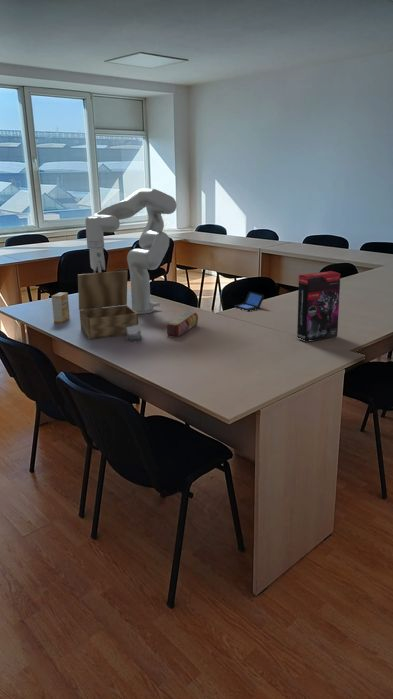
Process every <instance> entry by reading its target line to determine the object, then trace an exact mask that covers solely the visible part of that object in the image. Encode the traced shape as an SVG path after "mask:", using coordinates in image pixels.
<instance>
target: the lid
mask: <svg viewBox="0 0 393 699" xmlns="http://www.w3.org/2000/svg"><path fill="white" fill-rule="evenodd" d="M128 274H129V272H128V270H127V269H126V270H117V271H116V270H115V271H105V272H103V271H101V273H94V272H91V273H89V272H88V273H81V274H79V273H78V274H77V288H78V289H77V292H78V310H79V311H80V310H89V309H94V308H107V307H116V306H125V305H127V306H128Z"/></svg>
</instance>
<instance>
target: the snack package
mask: <svg viewBox="0 0 393 699" xmlns="http://www.w3.org/2000/svg"><path fill="white" fill-rule="evenodd" d="M198 321H199V315H198V313H197V312H195V311H191V310H189V311H186V312H184V313H183V314H181V315H180V316H179V317H177V318H176V319H174V320H172V321H171V322H170V323H168V324H167V325H166V335H167V336H168V337H169V336H171V337H170V338H178V337H180V336H181V335H183V334H184V333H186V332H188V331H189V330H190V329H191V328H193V327H195V326H196V325H197V324H198Z"/></svg>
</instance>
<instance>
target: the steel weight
mask: <svg viewBox="0 0 393 699" xmlns="http://www.w3.org/2000/svg"><path fill="white" fill-rule="evenodd" d="M138 324H139V323H138ZM138 324H130V325H127V326H126V335H125V336H126V342H129V341H130V343H135V341H136V342H140V341H141V339H142V337H141V335H142V334H141V325H140V324H139V325H138Z"/></svg>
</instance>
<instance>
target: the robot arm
mask: <svg viewBox="0 0 393 699" xmlns="http://www.w3.org/2000/svg"><path fill="white" fill-rule="evenodd" d="M144 208H146V212H147V223H146V225H145V226H144V229H143V231H142V233H141V234H140V237H139V240H138V245H139V247H140V248H133V249H131V250H130V251H129V252H128V253H127V258H126V260H127V265H128V270H129V276H130V279H129V280H130V295H131V296H130V297H131V307H130V308H131V309H133V310H134V311H135V312H137V313H138V315H145V314H150V313H153V312H154V311H155V307H157V308H158V307H160V305H161V303H160V302H152V301H151V286H150V284H151V283H150V274H149V272H148V270H150V271H153V270H157V269H158V268H159V266H160V265H161V263H162V261H163V259H164V257H165V255H166V253H167V251H168V249H169V247H170V237H169V235H168V233H166V232H164V228H165V222H164V219H163V216H162V215H172V214H174V213H175V211H176V210H177V201H176V199H175V198H174V197H173V196H172V195H170V194H168V193H166V192H163V191H161V190H158V189H156V188H139V189H136V190H135V191H134V192H133V193H131V194H129V195H128V196H127V197H126V198H124V199H122V200H121V201H118V202H116V203H114V204H110V205H109V206H106V207H104V208H102V209H101V210H99V211H98V212H96V213H95V214H93V215H92V216H87V217H85V236H86V247H87V248H86V249H89V264H90V268H91V269H92V270H93V273H101V272H102V270H103V271H106V261H105V255H104V249H105V240H104V233H114V232H116V231H117V230H118V229H119V228H120V225H121V223H120V220H127V219H130V218H132V217H134V216H135V215H137V213H140V211H142V210H143V209H144Z"/></svg>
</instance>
